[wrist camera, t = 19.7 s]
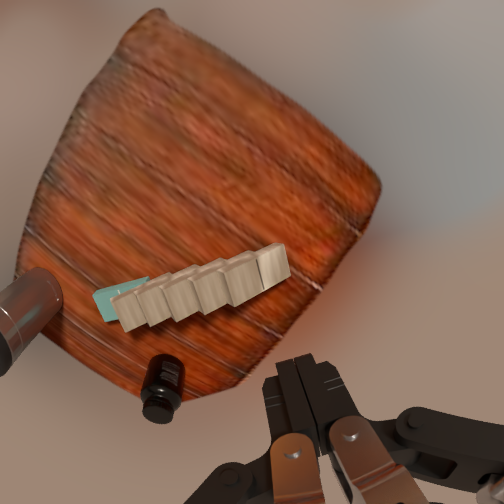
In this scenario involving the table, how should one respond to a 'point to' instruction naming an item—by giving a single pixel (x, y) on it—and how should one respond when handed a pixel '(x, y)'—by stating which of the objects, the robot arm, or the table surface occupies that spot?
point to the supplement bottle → (162, 388)
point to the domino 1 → (105, 294)
